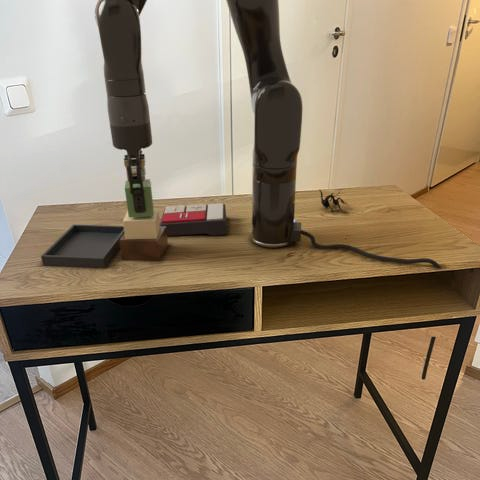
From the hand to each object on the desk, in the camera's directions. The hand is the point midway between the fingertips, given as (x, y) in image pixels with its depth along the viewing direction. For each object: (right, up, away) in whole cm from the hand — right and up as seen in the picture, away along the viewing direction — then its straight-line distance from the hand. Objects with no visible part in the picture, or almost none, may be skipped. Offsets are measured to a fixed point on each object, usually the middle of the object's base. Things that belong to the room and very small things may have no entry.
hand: (140, 207), depth 103 cm
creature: (+45, +5, +27) cm, 53 cm away
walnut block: (0, -9, +6) cm, 10 cm away
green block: (0, -1, +1) cm, 1 cm away
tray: (-13, -8, +7) cm, 17 cm away
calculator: (+10, -1, +17) cm, 20 cm away
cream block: (0, -5, +3) cm, 6 cm away
